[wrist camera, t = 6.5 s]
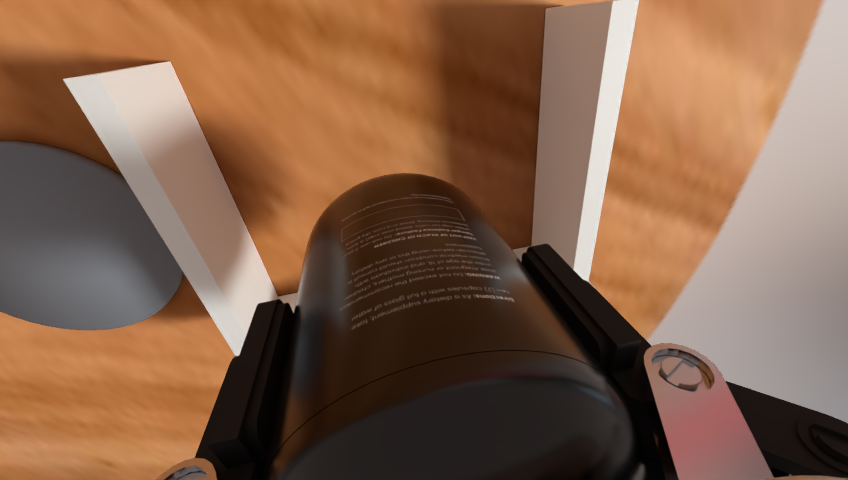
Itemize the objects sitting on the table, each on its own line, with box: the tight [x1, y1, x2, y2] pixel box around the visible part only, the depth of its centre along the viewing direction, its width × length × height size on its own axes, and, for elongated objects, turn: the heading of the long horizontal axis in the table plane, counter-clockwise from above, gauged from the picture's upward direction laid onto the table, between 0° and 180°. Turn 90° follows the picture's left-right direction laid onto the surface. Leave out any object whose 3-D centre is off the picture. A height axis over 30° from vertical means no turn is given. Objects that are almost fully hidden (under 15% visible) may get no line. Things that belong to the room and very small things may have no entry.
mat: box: [0, 140, 184, 330], centre depth 18 cm, size 11×11×1 cm
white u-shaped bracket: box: [63, 0, 639, 357], centre depth 17 cm, size 14×20×5 cm
